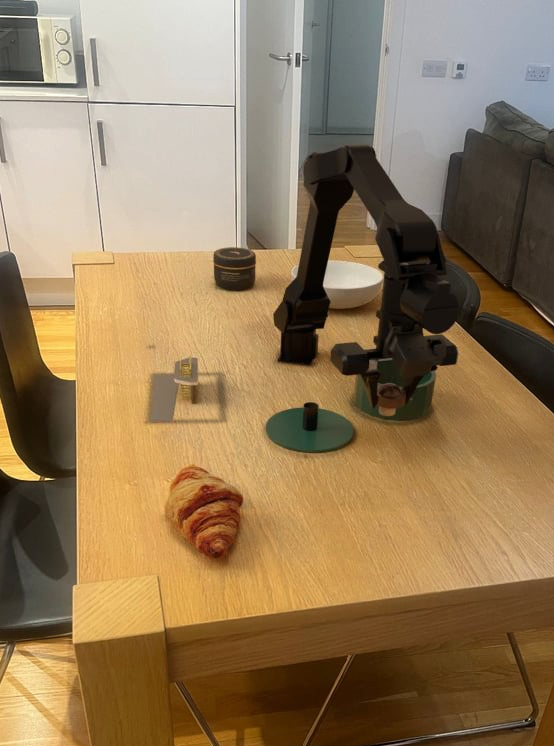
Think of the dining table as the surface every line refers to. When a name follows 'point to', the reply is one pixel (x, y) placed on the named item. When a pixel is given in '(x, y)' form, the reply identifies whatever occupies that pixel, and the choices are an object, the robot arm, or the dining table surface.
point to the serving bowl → (349, 283)
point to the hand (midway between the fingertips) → (388, 405)
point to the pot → (418, 400)
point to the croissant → (204, 510)
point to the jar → (234, 268)
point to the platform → (173, 389)
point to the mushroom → (390, 398)
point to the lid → (309, 429)
